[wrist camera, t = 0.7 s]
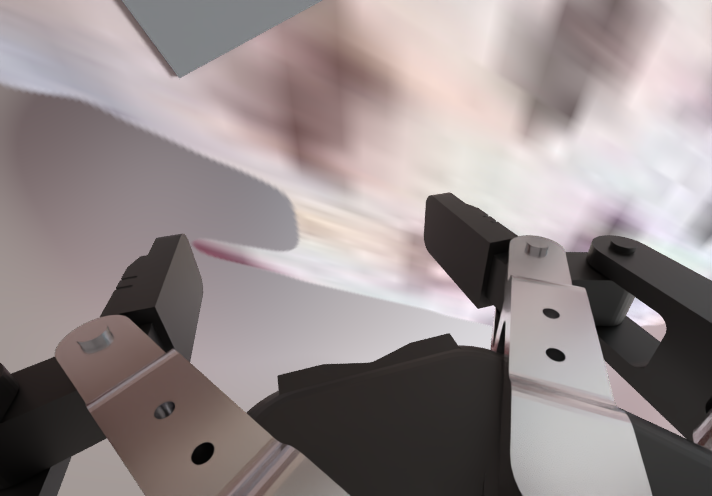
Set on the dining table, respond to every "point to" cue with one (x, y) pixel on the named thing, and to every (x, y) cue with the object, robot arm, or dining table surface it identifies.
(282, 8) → the mat
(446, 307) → the dining table surface
